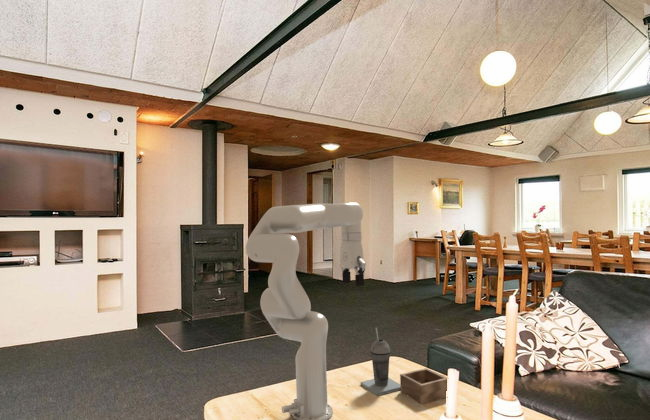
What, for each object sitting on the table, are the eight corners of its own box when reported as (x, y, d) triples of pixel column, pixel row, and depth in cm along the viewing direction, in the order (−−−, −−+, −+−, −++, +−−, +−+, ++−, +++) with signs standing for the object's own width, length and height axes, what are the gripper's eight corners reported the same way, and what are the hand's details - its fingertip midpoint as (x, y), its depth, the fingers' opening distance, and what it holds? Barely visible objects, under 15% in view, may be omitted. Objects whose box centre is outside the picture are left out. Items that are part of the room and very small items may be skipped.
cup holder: (422, 404, 131) (421, 385, 131) (400, 391, 141) (400, 374, 141) (449, 396, 136) (448, 378, 136) (426, 385, 146) (426, 368, 146)
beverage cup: (391, 388, 141) (389, 330, 142) (370, 387, 143) (368, 330, 143) (392, 380, 148) (390, 325, 149) (371, 379, 150) (370, 324, 150)
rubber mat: (377, 395, 138) (377, 392, 138) (360, 384, 148) (360, 382, 148) (403, 389, 143) (403, 386, 143) (385, 378, 153) (385, 376, 153)
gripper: (331, 237, 158) (333, 282, 157) (354, 238, 142) (356, 288, 141) (348, 236, 161) (350, 280, 160) (372, 237, 145) (374, 285, 145)
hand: (353, 283), depth 151 cm, fingers open, 9 cm apart
